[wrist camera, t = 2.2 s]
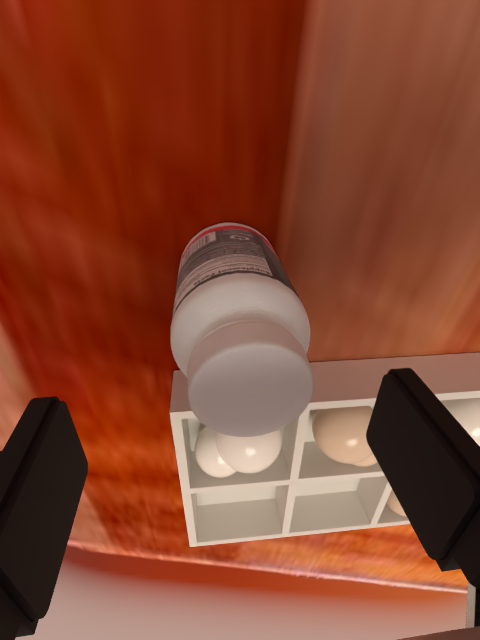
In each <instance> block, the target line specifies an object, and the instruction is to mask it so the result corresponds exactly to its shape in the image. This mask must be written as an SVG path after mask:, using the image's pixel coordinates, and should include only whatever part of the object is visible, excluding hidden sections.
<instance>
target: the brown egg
mask: <svg viewBox="0 0 480 640" xmlns="http://www.w3.org/2000/svg"><path fill="white" fill-rule="evenodd" d="M372 411H373V409H372V408H371V407H370V406H356V407H343V408H329V409H316V411H315V413H314V416H313V420H312V432H313V437H314V439H315V442H316V444H317V445H318V447H319V448H320V449H321V451H322V452H323V453H324V454H325V455H327V456H328V457H329V458H331V459H333V460H335V461H337V462H340V463H345V464H353V465H355V466H360V467H367V466H371V465H374V464H376V463H377V460H376V458H375V456H374V454H373V452H372V451H371V449H370V447H369V445H368V443H367V439H366V432H367V428H368V425H369V422H370V418H371V415H372Z"/></svg>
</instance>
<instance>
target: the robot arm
mask: <svg viewBox="0 0 480 640" xmlns="http://www.w3.org/2000/svg"><path fill="white" fill-rule="evenodd" d="M366 439H367V443H368V445H369V447H370V449H371V451H372V452H373V454H374V456H375V458H376V460H377V462H378V464H379V466H380V467H381V469H382V471H383V473H384V475H385V477H386V479H387V480H388V482H389V484H390V486H391V488H392V490H393V492H394V493H395V495H396V497H397V499H398V501H399V503H400V505H401V507H402V508H403V510H404V512H405V514H406V516H407V518H408V520H409V521H410V523H411V525H412V527H413V529H414V531H415V533H416V534H417V536H418V538H419V540H420V542H421V544H422V546H423V547H424V549H425V551H426V553H427V554H428V556H429V557H430V558H432V559H434V560H436V562H437V564H438V565H439V567H440V569H441V571H442V572H443V571H449V570H456V569H461V570H462V571H463V573H464V575H465V576H466V578H467V580H468V594H467V612H466V628H465V629H458V630H451V631H445V632H440V633H433V634H428V635H423V636H416V637H410V638H404V639H398V640H480V446H479V445H478V444H477V443H476V442H475V441H474V439H473V438H472V437H471V436H470V435H469V434H468V432H467V431H466V430H465V429H464V428H463V427H462V426H461V424H460V423H459V422H458V421H457V420H456V419H455V418H454V416H453V415H452V414H451V413H450V412H449V411H448V409H447V408H446V407H445V406H444V405H443V404H442V403H441V401H440V400H439V399H438V398H437V397H436V396H435V394H434V393H433V392H432V391H431V390H430V389H429V388H428V386H427V385H426V384H425V383H424V382H423V381H422V379H421V378H420V377H419V376H418V375H417V374H416V373H415V371H414V370H412V369H411V368H398V369H390V370H389V371H388V373H387V374H385V375H384V376H383V378H382V381H381V385H380V388H379V391H378V395H377V398H376V401H375V405H374V408H373V411H372V415H371V418H370V422H369V425H368V428H367V432H366ZM87 472H88V462H87V459H86V456H85V453H84V451H83V448H82V445H81V443H80V440H79V437H78V434H77V432H76V429H75V426H74V424H73V421H72V418H71V416H70V413H69V410H68V407H67V405H66V403H65V402H64V401H60V400H59V399H58V398H57V397H43V398H33V399H32V400H31V401H30V402H29V404H28V406H27V407H26V409H25V411H24V413H23V415H22V416H21V418H20V420H19V422H18V424H17V425H16V427H15V429H14V431H13V433H12V434H11V436H10V438H9V440H8V442H7V443H6V445H5V447H4V449H3V451H0V640H15V637H20V636H27V635H33V634H34V633H35V630H36V626H37V623H38V620H39V619H41V618H43V617H44V616H45V615H46V613H47V611H48V609H49V606H50V602H51V599H52V595H53V592H54V588H55V584H56V581H57V578H58V574H59V571H60V567H61V564H62V560H63V557H64V553H65V550H66V546H67V543H68V539H69V536H70V532H71V529H72V525H73V522H74V518H75V515H76V511H77V508H78V504H79V501H80V497H81V494H82V490H83V487H84V483H85V480H86V476H87Z"/></svg>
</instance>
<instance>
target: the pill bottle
mask: <svg viewBox="0 0 480 640" xmlns="http://www.w3.org/2000/svg"><path fill="white" fill-rule="evenodd" d="M170 340H171V349H172V353H173V356H174V359H175V361H176V363H177V365H178V367H179V368H180V370H181V371H182V372H183V374H184V375H185V376H186V377H187V380H188V400H189V404H190V407H191V409H192V412H193V413H194V415H195V416H196V417H197V419H198V420H199V421H200V422H201V423H203V424H204V425H205V426H207V427H208V428H210V429H211V430H214V431H216V432H218V433H221V434H224V435H229V436H235V437H254V436H260V435H265V434H268V433H271V432H274V431H277V430H279V429H281V428H283V427H285V426H287V425H288V424H290V423H292V422H293V421H294V420H296V419H297V418H298V417H299V416H300V415H301V414H302V413H303V412H304V410H305V409H306V408H307V406H308V404H309V403H310V400H311V398H312V395H313V391H314V378H313V373H312V369H311V366H310V364H309V361H308V359H307V355H306V354H307V351H308V348H309V344H310V324H309V320H308V316H307V313H306V310H305V307H304V305H303V303H302V301H301V300H300V298H299V296H298V295H297V293H296V291H295V289H294V288H293V286H292V284H291V282H290V280H289V278H288V276H287V274H286V272H285V270H284V268H283V266H282V264H281V262H280V260H279V258H278V256H277V254H276V253H275V251H274V249H273V247H272V246H271V244H270V243H269V241H268V240H267V239H266V238H265V237H264V236H263V235H262V234H261V233H260V232H258V231H257V230H255V229H253V228H252V227H249V226H246V225H243V224H238V223H230V222H229V223H220V224H216V225H213V226H210V227H207V228H205V229H203V230H202V231H200V232H199V233H198V234H197V235H195V236H194V237H193V238H192V239H191V240H190V242H189V243H188V245H187V246H186V248H185V250H184V252H183V254H182V257H181V261H180V266H179V271H178V278H177V286H176V294H175V302H174V308H173V312H172V323H171V338H170Z"/></svg>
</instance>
